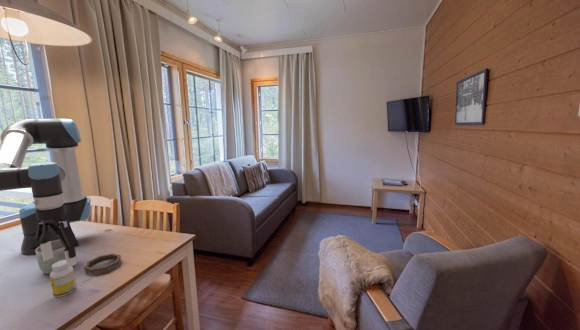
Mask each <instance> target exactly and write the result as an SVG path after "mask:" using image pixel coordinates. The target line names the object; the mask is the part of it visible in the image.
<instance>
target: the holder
mask: <svg viewBox="0 0 580 330" xmlns="http://www.w3.org/2000/svg"><path fill="white" fill-rule="evenodd" d="M121 263H122V256H121V255H120V254H116V253H109V254H103V255H99V256H96V257H95V258H93V259H91V260H88V261H87V262H86V264H85V266H84V273H85V274H86V275H87V276H100V275H104V274H107V273H109V272H112V271H115V269H117V268H119V267H120V265H121Z"/></svg>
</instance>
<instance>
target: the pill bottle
mask: <svg viewBox="0 0 580 330" xmlns="http://www.w3.org/2000/svg"><path fill="white" fill-rule="evenodd" d="M52 270H53V271H52V272H51V273H50V274H49V279H50V284H51V289H52V295H53V296H54V297H56V298H57V297H60V298H61V297H64V296H68V295H70V294H72V293H73V292H74V291H75V290H76V289H77V281H76V275H75V269H74V266H72V267H69V268H67V264H66V260H62V261H58V262H56V263H54V264H53V265H52Z"/></svg>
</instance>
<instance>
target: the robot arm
mask: <svg viewBox="0 0 580 330" xmlns="http://www.w3.org/2000/svg"><path fill="white" fill-rule="evenodd" d="M0 141H1V142H0V192H1V191H2V192H3V191H11V190H20V189H28V188H31V193H32V198H33V201H32V203H28V204H27V205H24V206H22V207H21V208H19V211H18V212H19V213H18V214H19V218H18V219H19V220H20V224H21V228H22V229H21V231H22V233H23V239H22V243H21V246H20V251H21V255H28V256H29V255H30V256H32V255H36V252H35V250H36V249H37V248H38V247H39V246H41V252H42V257H43V261H46V260H49V259H51V258H53V252H52V246H51V241H55V240H60V241H61V243H62V244H63V246H64V247H65V250H64V252H65V258H66V264H67V268H69V267H74V266H76V265H78V259H76V254H77V252H76V253H75V248H76V249H77V248H78V247H79V246H80V244H79V242H78V239H77V236H76V235H75V233H74V231H73V229H72V227H71V223H75V222H76V223H77V222H82V221H85V220H88V219H89V218H90V217H91V198H90V197H87V194H86V193H83V190H82V185H81V184H82V183H81V179H80V171H79V168H78V167H79V165H78V161H77V155H76V149H77V148H78V147H79V143H81V142H82V138H81V133H80V131H79V128H78V126H77V122H76V121H74V120H73V119H71V118H70V119H69V118H25V119H23V120H22V119H21V120H19V121H16V122H14V123H11V124H10V125H9V126H7V127H6V128H5V129H4V130H3V131H2V133H1V135H0ZM38 144H40V145H44V144H45V148H47V150H49V151H51V155H52V161H53V162H52V161H51V162H50V161H48V162H47V161H45V162H37V163H31V164H29V165H28V166H24V167H22V166H23V163H24V160H25V158H26V154H27V151H28V149H29V147H31V146H32V145H38Z"/></svg>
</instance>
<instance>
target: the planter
mask: <svg viewBox="0 0 580 330" xmlns="http://www.w3.org/2000/svg"><path fill="white" fill-rule="evenodd" d="M51 246H52V252H53V258H51V259H49V260H46V261H43V257H42V252H41V246H39V247H38V248H37V249H36V250H35V252H36V254H35V255H36V259H37V263H38V266H39V269H40V271H41V272H42V273H43V274H46V275H50V273H51V272H52V271H53V270H52V265H53V264H54V263H56V262H58V261H62V260H66V258H65V252H64V250H65V247H64V246H63V244H62V243H61V241H60V240H55V241H51ZM75 253H76V259H77V247H76V248H75ZM77 260H78V259H77Z"/></svg>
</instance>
